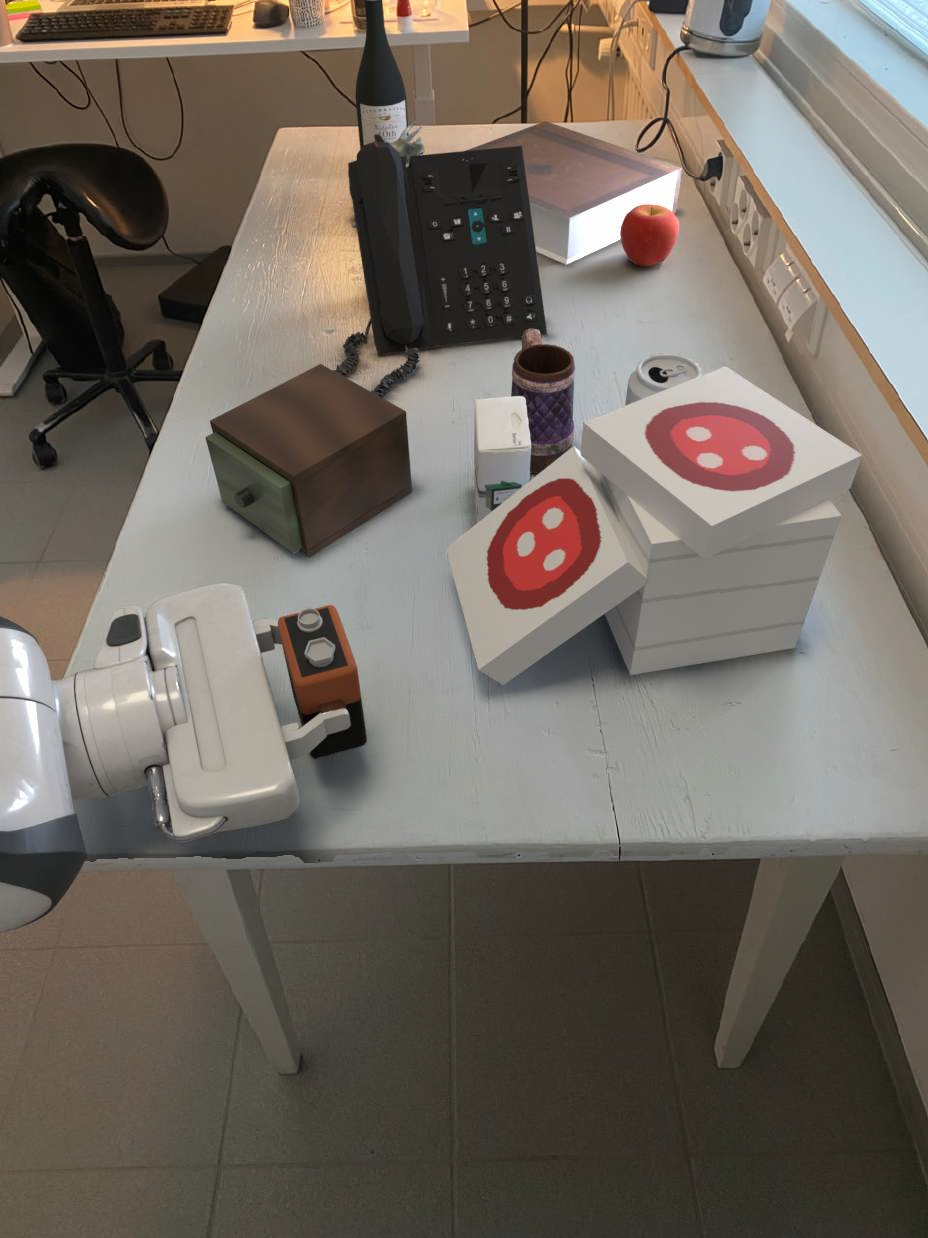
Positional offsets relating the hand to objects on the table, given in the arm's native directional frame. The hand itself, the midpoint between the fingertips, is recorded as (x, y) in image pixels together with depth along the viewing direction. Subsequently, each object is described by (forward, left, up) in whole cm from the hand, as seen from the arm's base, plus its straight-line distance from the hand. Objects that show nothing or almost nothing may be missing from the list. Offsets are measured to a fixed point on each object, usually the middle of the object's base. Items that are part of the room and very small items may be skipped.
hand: (333, 670), depth 67 cm
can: (+39, +24, -9) cm, 47 cm away
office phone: (+25, +58, -9) cm, 64 cm away
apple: (+60, +67, -9) cm, 90 cm away
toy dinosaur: (+28, +95, -9) cm, 99 cm away
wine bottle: (+35, +112, -9) cm, 118 cm away
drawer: (+3, +31, -8) cm, 32 cm away
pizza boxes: (+27, +6, -9) cm, 29 cm away
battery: (-1, 0, -6) cm, 6 cm away
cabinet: (+5, +32, -9) cm, 33 cm away
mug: (+29, +32, -9) cm, 44 cm away
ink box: (+21, +22, -9) cm, 32 cm away
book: (+55, +88, -9) cm, 104 cm away
